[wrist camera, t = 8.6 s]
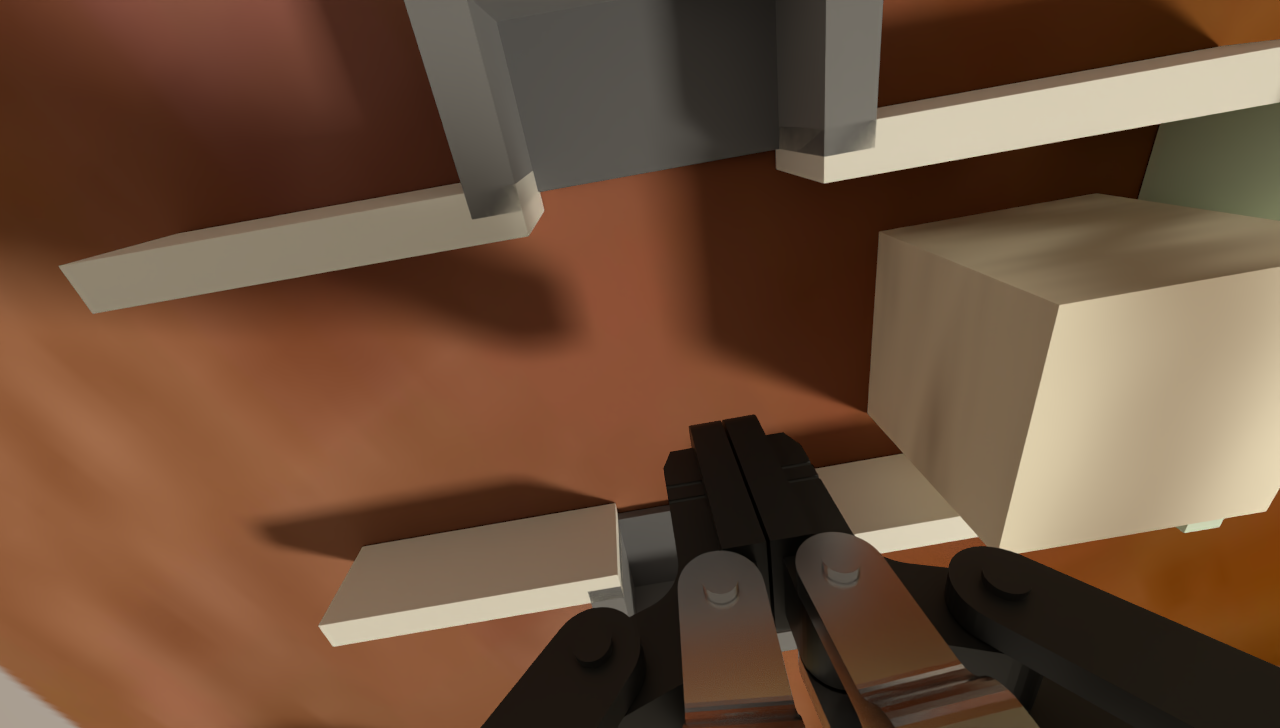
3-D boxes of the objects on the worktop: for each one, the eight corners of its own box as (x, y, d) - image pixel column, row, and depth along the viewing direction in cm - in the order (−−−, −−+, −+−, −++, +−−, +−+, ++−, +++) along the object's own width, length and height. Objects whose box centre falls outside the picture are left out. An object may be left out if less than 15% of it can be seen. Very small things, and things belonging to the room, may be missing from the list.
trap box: (1296, -182, 10) (1676, -347, 6) (1065, 524, 19) (1171, 618, 16) (66, 44, 10) (-217, 5, 7) (414, 635, 19) (372, 752, 16)
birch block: (1093, 192, 13) (1420, 242, 8) (1045, 380, 16) (1266, 511, 11) (877, 230, 13) (1059, 305, 8) (866, 411, 16) (996, 556, 11)
